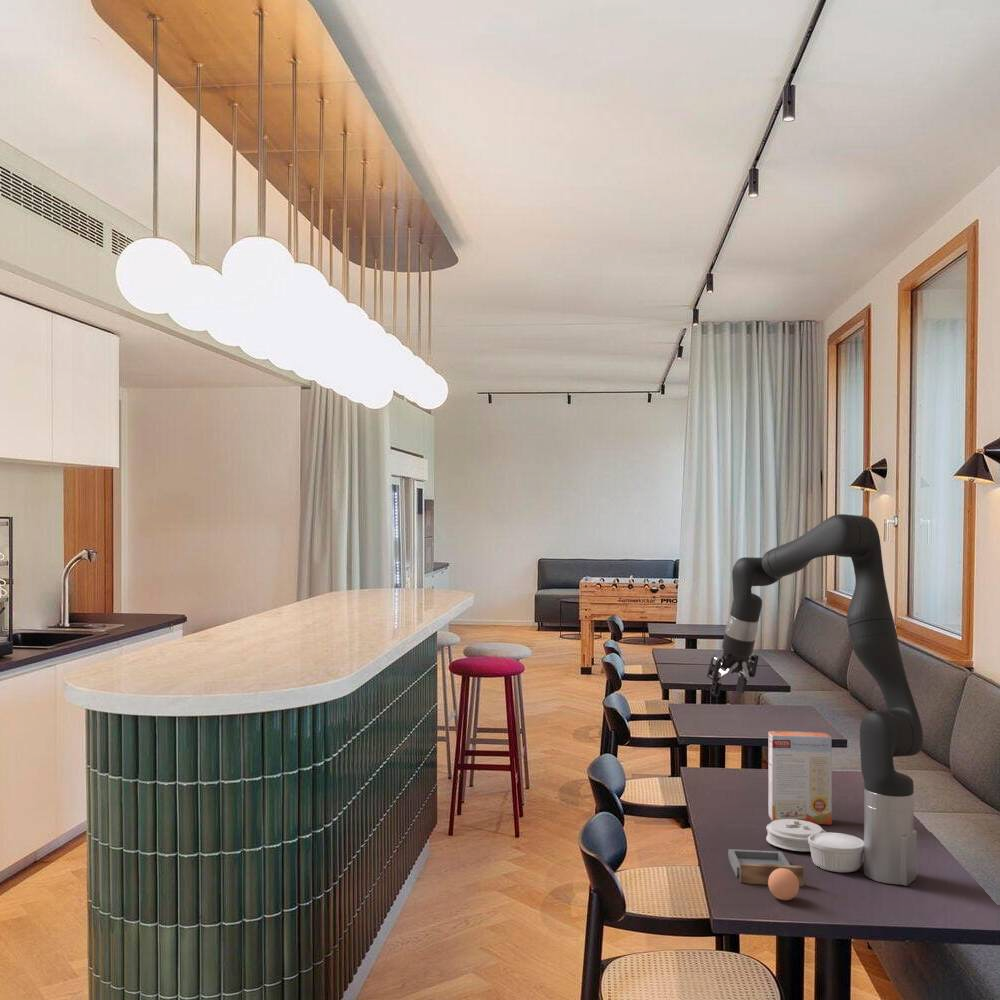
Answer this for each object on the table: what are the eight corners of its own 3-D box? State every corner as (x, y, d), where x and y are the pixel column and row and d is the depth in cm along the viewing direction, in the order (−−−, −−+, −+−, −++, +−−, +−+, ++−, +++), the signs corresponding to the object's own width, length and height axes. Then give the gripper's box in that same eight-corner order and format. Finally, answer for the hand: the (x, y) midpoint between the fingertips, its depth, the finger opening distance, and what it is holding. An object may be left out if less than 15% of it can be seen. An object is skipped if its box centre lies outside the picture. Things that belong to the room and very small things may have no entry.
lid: (755, 845, 212) (755, 822, 212) (783, 833, 221) (783, 811, 221) (809, 860, 203) (809, 836, 203) (836, 846, 212) (836, 823, 212)
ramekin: (804, 855, 205) (804, 830, 205) (859, 858, 203) (859, 833, 204) (812, 873, 194) (812, 846, 194) (870, 876, 192) (870, 850, 192)
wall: (801, 883, 188) (801, 865, 188) (803, 886, 187) (803, 867, 187) (739, 880, 189) (739, 862, 189) (740, 883, 188) (740, 865, 188)
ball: (804, 898, 180) (804, 868, 181) (791, 907, 176) (791, 876, 176) (775, 891, 184) (776, 861, 184) (762, 899, 180) (763, 869, 180)
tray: (781, 861, 201) (781, 851, 201) (793, 880, 190) (793, 869, 190) (728, 858, 202) (728, 849, 202) (736, 877, 191) (736, 867, 191)
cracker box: (826, 818, 232) (826, 731, 233) (832, 826, 226) (833, 736, 227) (767, 815, 234) (767, 729, 234) (771, 823, 228) (772, 734, 228)
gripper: (729, 641, 232) (716, 703, 236) (771, 638, 239) (758, 697, 243) (709, 629, 238) (696, 689, 242) (750, 626, 245) (737, 684, 249)
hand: (727, 693), depth 242 cm, fingers open, 8 cm apart
